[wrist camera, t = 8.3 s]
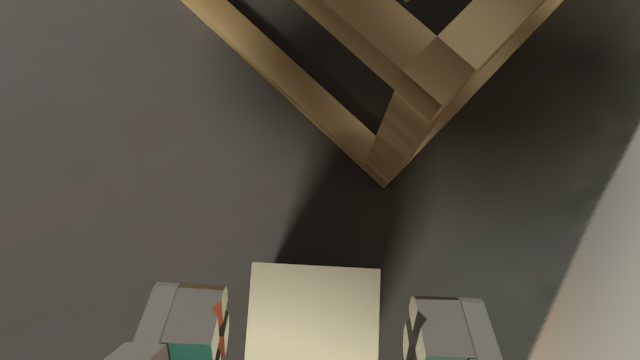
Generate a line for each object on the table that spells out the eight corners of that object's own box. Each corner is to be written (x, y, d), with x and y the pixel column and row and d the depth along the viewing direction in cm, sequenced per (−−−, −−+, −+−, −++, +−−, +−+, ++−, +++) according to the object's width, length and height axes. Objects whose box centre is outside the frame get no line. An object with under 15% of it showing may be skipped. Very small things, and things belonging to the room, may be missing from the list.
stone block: (264, 365, 25) (241, 398, 17) (270, 270, 26) (252, 262, 18) (357, 370, 25) (376, 406, 17) (360, 275, 26) (380, 268, 18)
